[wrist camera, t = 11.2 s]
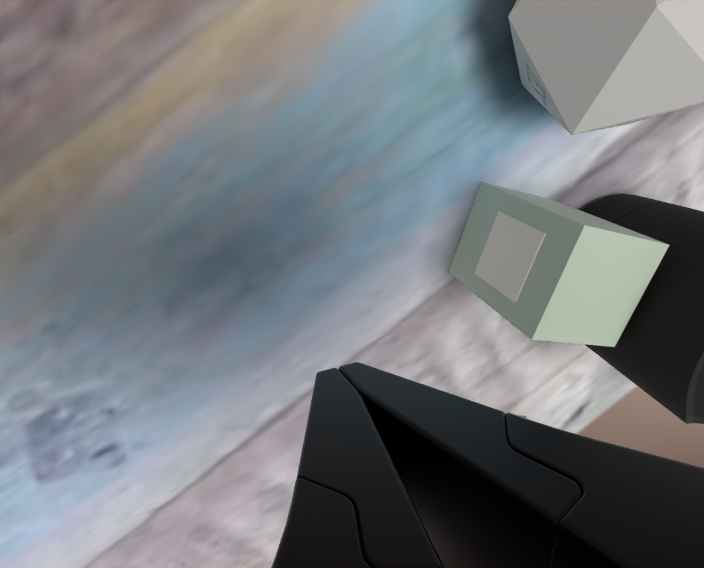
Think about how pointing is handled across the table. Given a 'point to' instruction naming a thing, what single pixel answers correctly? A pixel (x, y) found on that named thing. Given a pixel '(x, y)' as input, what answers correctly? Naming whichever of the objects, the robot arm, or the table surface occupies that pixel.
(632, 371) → the pen holder
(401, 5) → the table surface
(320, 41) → the table surface
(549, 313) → the sage block
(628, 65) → the die
